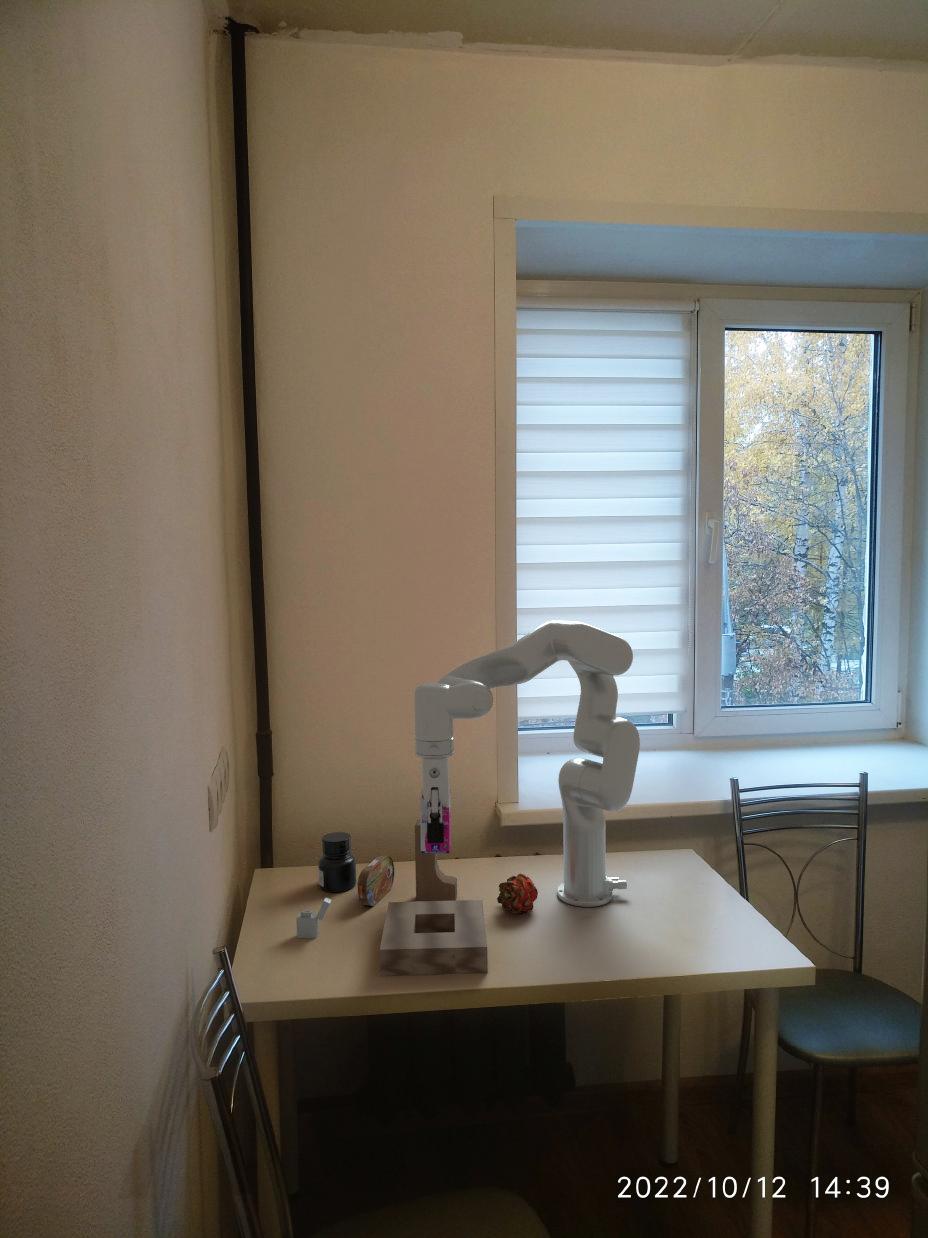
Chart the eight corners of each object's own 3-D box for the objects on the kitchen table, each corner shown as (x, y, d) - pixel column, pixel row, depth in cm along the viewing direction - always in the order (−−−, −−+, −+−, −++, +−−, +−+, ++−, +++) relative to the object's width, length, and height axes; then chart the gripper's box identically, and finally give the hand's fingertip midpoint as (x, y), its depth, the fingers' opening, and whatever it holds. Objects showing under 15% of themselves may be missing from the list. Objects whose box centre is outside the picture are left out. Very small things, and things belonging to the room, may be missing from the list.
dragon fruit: (508, 930, 158) (519, 913, 170) (540, 909, 157) (549, 894, 168) (486, 895, 160) (498, 881, 172) (518, 874, 159) (527, 861, 170)
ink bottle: (329, 876, 185) (328, 828, 184) (362, 879, 182) (361, 831, 182) (311, 892, 175) (310, 842, 175) (346, 896, 173) (344, 845, 172)
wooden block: (457, 895, 172) (456, 819, 171) (455, 904, 168) (454, 826, 167) (418, 894, 173) (417, 818, 172) (415, 903, 168) (414, 825, 167)
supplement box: (420, 854, 144) (419, 796, 144) (422, 843, 150) (421, 787, 149) (450, 854, 144) (449, 796, 143) (451, 843, 150) (450, 787, 149)
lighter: (296, 938, 153) (295, 900, 153) (299, 934, 155) (298, 896, 154) (330, 938, 153) (329, 900, 152) (332, 934, 154) (331, 897, 154)
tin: (368, 912, 164) (367, 875, 164) (355, 910, 165) (354, 873, 165) (396, 885, 179) (395, 851, 178) (384, 883, 180) (383, 849, 179)
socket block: (482, 922, 159) (482, 900, 158) (487, 973, 139) (487, 947, 138) (388, 925, 158) (388, 902, 158) (380, 976, 138) (379, 949, 138)
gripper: (454, 757, 137) (455, 852, 138) (452, 736, 155) (454, 822, 156) (413, 757, 137) (415, 853, 138) (416, 737, 154) (418, 823, 155)
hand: (435, 836), depth 147 cm, fingers closed on supplement box, 5 cm apart
